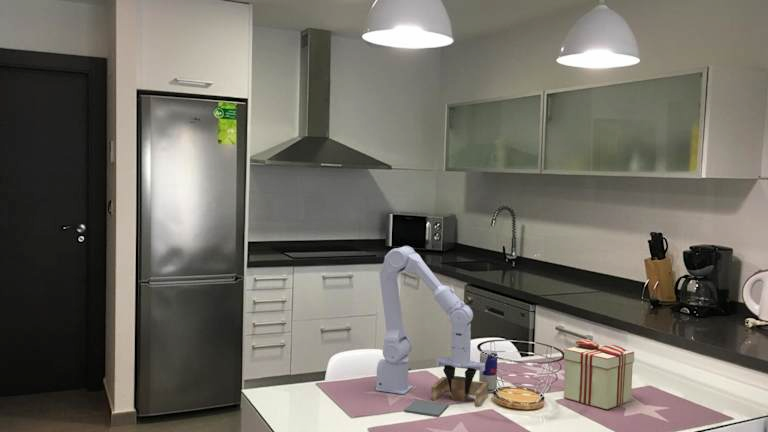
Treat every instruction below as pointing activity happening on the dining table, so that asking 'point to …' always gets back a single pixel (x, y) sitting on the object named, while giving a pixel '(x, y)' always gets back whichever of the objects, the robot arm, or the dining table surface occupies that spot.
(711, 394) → the dining table surface
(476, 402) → the wooden u-shaped cradle
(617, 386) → the gift box
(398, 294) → the robot arm
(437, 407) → the mat
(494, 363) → the energy drink
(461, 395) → the block
